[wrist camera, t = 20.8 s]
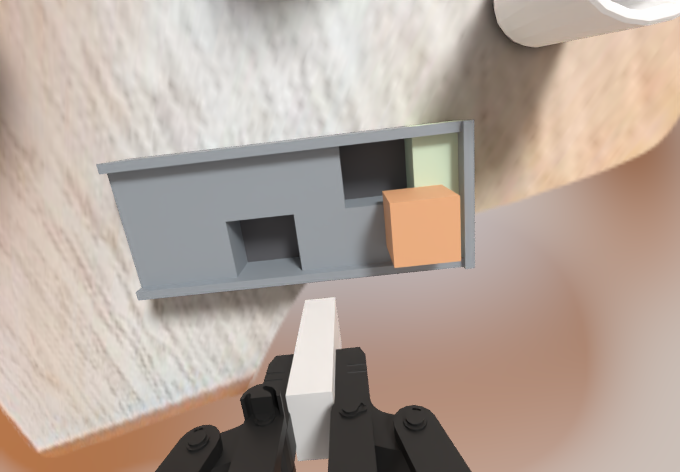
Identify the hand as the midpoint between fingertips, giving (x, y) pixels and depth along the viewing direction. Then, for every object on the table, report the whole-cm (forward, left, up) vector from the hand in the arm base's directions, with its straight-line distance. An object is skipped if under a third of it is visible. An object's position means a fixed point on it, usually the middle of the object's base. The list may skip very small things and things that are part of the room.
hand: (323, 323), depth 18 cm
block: (+7, +1, -14) cm, 16 cm away
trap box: (-3, +2, -18) cm, 19 cm away
